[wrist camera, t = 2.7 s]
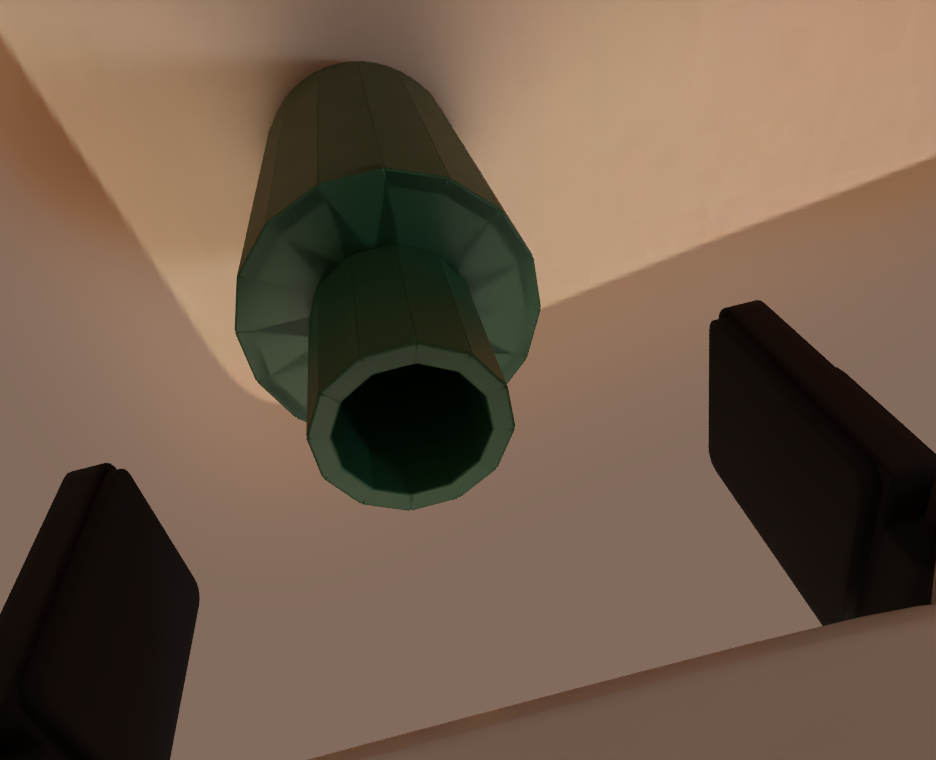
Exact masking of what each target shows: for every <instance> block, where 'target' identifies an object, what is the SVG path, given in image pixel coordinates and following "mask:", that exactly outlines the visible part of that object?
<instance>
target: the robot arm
mask: <svg viewBox="0 0 936 760" xmlns="http://www.w3.org/2000/svg"><path fill="white" fill-rule="evenodd" d="M709 454H710V458H711V461H712V464H713V466H714V468H715V470H716V472H717V473H718V474H719V476H720V477H721V479H722V480H723V482H724V483H725V485H726V486H727V488H728V489H729V490H730V492H731V493H732V495H733V496H734V498H735V499H736V501H737V502H738V504H739V505H740V506H741V508H742V509H743V511H744V512H745V514H746V515H747V517H748V518H749V520H750V521H751V522H752V524H753V525H754V527H755V528H756V530H757V531H758V533H759V534H760V536H761V537H762V538H763V540H764V541H765V543H766V544H767V546H768V547H769V549H770V550H771V551H772V553H773V554H774V556H775V557H776V559H777V560H778V561H779V563H780V564H781V566H782V567H783V569H784V570H785V572H786V573H787V574H788V576H789V577H790V579H791V580H792V582H793V583H794V585H795V586H796V588H797V589H798V591H799V592H800V594H801V595H802V596H803V598H804V599H805V601H806V602H807V604H808V605H809V606H810V608H811V609H812V611H813V612H814V613H815V615H816V616H817V618H818V620H819V621H820V623H821V624H822V625H823V626H821V627H818V628H813V629H809V630H805V631H801V632H797V633H792V634H788V635H784V636H780V637H775V638H772V639H767V640H763V641H759V642H755V643H751V644H747V645H743V646H739V647H735V648H731V649H727V650H723V651H720V652H716V653H712V654H708V655H704V656H700V657H696V658H692V659H689V660H685V661H681V662H677V663H673V664H669V665H666V666H662V667H658V668H654V669H650V670H646V671H642V672H638V673H635V674H631V675H627V676H623V677H619V678H615V679H612V680H607V681H603V682H600V683H596V684H592V685H588V686H584V687H580V688H576V689H573V690H569V691H565V692H561V693H557V694H554V695H550V696H546V697H542V698H539V699H535V700H531V701H527V702H523V703H519V704H516V705H512V706H508V707H504V708H501V709H497V710H493V711H489V712H486V713H481V714H478V715H474V716H470V717H466V718H463V719H459V720H455V721H451V722H447V723H444V724H440V725H436V726H432V727H429V728H425V729H421V730H417V731H414V732H410V733H406V734H402V735H398V736H395V737H391V738H387V739H384V740H380V741H376V742H372V743H368V744H364V745H361V746H357V747H354V748H350V749H346V750H342V751H339V752H335V753H331V754H327V755H324V756H320V757H316V758H313V759H309V760H936V454H935V453H934V452H933V451H932V450H931V449H930V448H928V447H927V446H926V445H925V444H924V443H923V442H922V441H921V440H920V439H919V438H917V437H916V436H915V435H914V434H913V433H912V432H911V431H910V430H908V429H907V428H906V427H905V426H904V425H903V424H902V423H901V422H899V421H898V420H897V419H896V418H895V417H894V416H893V415H892V414H891V413H889V412H888V411H887V410H886V409H885V408H884V407H883V406H882V405H881V404H879V403H878V402H877V401H876V400H875V399H874V398H873V397H872V396H871V395H869V394H868V393H867V392H866V391H865V390H864V389H863V388H862V387H860V386H859V385H858V384H857V383H856V382H855V381H854V380H853V379H851V378H850V377H849V376H848V375H847V374H846V373H845V372H843V371H842V370H840V369H839V368H837V367H835V366H833V365H832V364H831V363H830V362H829V361H828V360H826V358H825V357H824V356H822V355H821V354H820V353H819V352H818V351H817V350H816V349H815V348H813V347H812V346H811V345H810V344H809V343H808V342H807V341H806V340H805V339H803V338H802V337H801V336H800V335H799V334H798V333H797V332H796V331H795V330H794V329H792V328H791V327H790V326H789V325H788V324H787V323H786V322H784V320H783V319H781V318H780V317H779V316H778V315H777V314H776V313H775V312H774V311H773V310H771V309H770V308H769V307H768V306H767V305H766V304H765V303H763V302H762V301H760V300H755V301H752V302H747V303H744V304H739V305H735V306H732V307H727V308H724V309H722V310H721V312H720V314H719V319H717V320H714V321H712V322H711V324H710V329H709ZM198 607H199V590H198V586H197V583H196V581H195V579H194V577H193V576H192V574H191V572H190V571H189V569H188V567H187V566H186V564H185V562H184V561H183V559H182V558H181V556H180V554H179V553H178V551H177V549H176V548H175V546H174V545H173V543H172V542H171V540H170V539H169V537H168V535H167V534H166V532H165V530H164V528H163V527H162V525H161V524H160V522H159V521H158V519H157V517H156V515H155V514H154V512H153V511H152V509H151V507H150V506H149V504H148V503H147V501H146V499H145V498H144V496H143V494H142V493H141V491H140V489H139V488H138V486H137V485H136V483H135V481H134V480H133V478H132V476H131V475H130V474H129V473H128V471H126V470H125V469H118V470H117V469H116V468H115V467H114V466H113V465H111V464H109V463H104V464H100V465H96V466H92V467H88V468H84V469H80V470H76V471H72V472H70V473H68V474H67V475H66V476H65V478H64V479H63V481H62V483H61V486H60V488H59V490H58V492H57V494H56V496H55V498H54V500H53V503H52V505H51V507H50V509H49V511H48V513H47V516H46V518H45V520H44V522H43V524H42V526H41V528H40V530H39V533H38V535H37V537H36V539H35V541H34V543H33V545H32V547H31V550H30V552H29V554H28V556H27V558H26V560H25V563H24V565H23V567H22V569H21V571H20V573H19V576H18V578H17V580H16V582H15V584H14V586H13V589H12V590H11V592H10V594H9V597H8V599H7V601H6V603H5V605H4V607H3V610H2V612H1V614H0V760H170V756H171V750H172V745H173V740H174V734H175V730H176V724H177V719H178V714H179V708H180V702H181V698H182V692H183V687H184V682H185V676H186V671H187V666H188V660H189V655H190V650H191V644H192V639H193V633H194V629H195V623H196V618H197V612H198Z"/></svg>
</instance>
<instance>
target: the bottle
mask: <svg viewBox="0 0 936 760" xmlns="http://www.w3.org/2000/svg"><path fill="white" fill-rule="evenodd" d="M540 307H541V306H540V299H539V292H538V286H537V279H536V272H535V265H534V259H533V257H532V254H531V252H530V250H529V249H528V247H527V246H526V244H525V242H524V241H523V239H522V238H521V236H520V234H519V233H518V231H517V230H516V228H515V226H514V225H513V223H512V222H511V220H510V219H509V217H508V215H507V214H506V212H505V211H504V209H503V207H502V206H501V204H500V203H499V201H498V199H497V198H496V196H495V195H494V193H493V191H492V190H491V188H490V187H489V185H488V183H487V182H486V180H485V179H484V177H483V175H482V174H481V172H480V171H479V169H478V167H477V166H476V164H475V163H474V161H473V159H472V158H471V156H470V155H469V153H468V151H467V150H466V148H465V147H464V145H463V143H462V142H461V140H460V139H459V137H458V135H457V134H456V132H455V131H454V129H453V127H452V126H451V124H450V123H449V121H448V120H447V118H446V117H445V115H444V114H443V112H442V111H441V109H440V108H439V106H438V104H437V103H436V102H435V100H434V98H433V97H432V95H431V94H430V93H429V92H428V91H427V90H425V89H424V88H423V87H422V86H421V85H420V84H419V83H417V82H416V81H415V80H413V79H412V78H411V77H409V76H407V75H406V74H404V73H402V72H400V71H398V70H396V69H393V68H391V67H388V66H385V65H381V64H377V63H371V62H345V63H339V64H335V65H332V66H329V67H325V68H323V69H321V70H319V71H317V72H315V73H313V74H311V75H310V76H308V77H307V78H305V79H304V80H302V81H301V82H300V83H299V84H298V85H297V86H296V87H295V88H294V89H293V90H292V91H291V92H290V93H289V94H288V96H287V97H286V98H285V100H284V101H283V103H282V104H281V106H280V108H279V109H278V112H277V114H276V116H275V119H274V121H273V124H272V126H271V127H270V129H269V133H268V138H267V142H266V147H265V151H264V156H263V160H262V165H261V170H260V174H259V179H258V183H257V188H256V192H255V197H254V201H253V206H252V211H251V215H250V220H249V224H248V229H247V233H246V238H245V243H244V247H243V252H242V256H241V261H240V265H239V270H238V275H237V286H236V311H235V331H236V336H237V338H238V340H239V342H240V345H241V347H242V349H243V352H244V354H245V356H246V358H247V361H248V363H249V365H250V368H251V370H252V372H253V374H254V377H255V379H256V380H257V381H258V383H259V384H260V385H261V386H262V387H263V388H264V389H265V390H266V391H268V392H269V393H270V394H271V395H272V396H273V397H274V398H275V399H276V400H277V401H278V402H279V403H281V404H282V405H283V406H284V407H285V408H286V409H287V410H288V411H289V412H290V413H291V414H292V415H294V416H295V417H297V418H298V419H300V420H303V421H305V422H307V433H306V435H307V441H308V443H309V446H310V448H311V451H312V453H313V455H314V458H315V460H316V463H317V465H318V467H319V470H320V473H321V475H322V476H323V477H324V479H325V480H326V481H328V482H329V483H331V484H332V485H334V486H335V487H337V488H338V489H340V490H341V491H343V492H344V493H346V494H347V495H349V496H350V497H352V498H353V499H355V500H356V501H358V502H359V503H362V504H364V505H372V506H379V507H387V508H394V509H402V510H410V509H411V510H415V509H419V508H423V507H426V506H430V505H434V504H438V503H441V502H445V501H449V500H453V499H457V498H458V497H460V496H462V495H463V494H465V493H466V492H467V491H469V490H470V489H471V488H472V487H474V486H475V485H476V484H478V483H479V482H480V481H481V480H483V479H484V478H485V477H487V476H488V475H489V474H490V473H492V472H493V471H494V470H495V469H496V467H498V465H499V463H500V460H501V458H502V456H503V454H504V452H505V449H506V447H507V445H508V443H509V440H510V438H511V436H512V434H513V431H514V427H515V422H514V417H513V412H512V407H511V402H510V396H509V391H508V387H507V383H508V382H509V381H510V379H511V378H512V377H513V375H514V374H515V373H516V371H517V370H518V369H519V367H520V366H521V365H522V364H523V362H524V361H525V360H526V357H527V355H528V352H529V348H530V345H531V341H532V338H533V334H534V330H535V327H536V324H537V320H538V316H539V313H540Z"/></svg>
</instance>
